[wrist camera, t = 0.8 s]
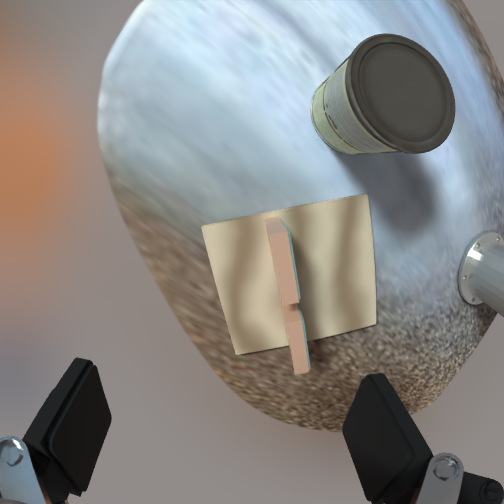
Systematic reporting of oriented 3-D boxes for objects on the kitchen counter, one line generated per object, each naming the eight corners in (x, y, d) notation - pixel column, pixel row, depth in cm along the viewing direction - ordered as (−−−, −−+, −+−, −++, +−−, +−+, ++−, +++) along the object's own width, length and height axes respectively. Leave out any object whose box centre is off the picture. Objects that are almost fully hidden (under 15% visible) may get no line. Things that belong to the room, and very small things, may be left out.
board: (364, 194, 34) (368, 195, 33) (373, 319, 39) (376, 323, 38) (202, 225, 35) (201, 227, 33) (236, 349, 40) (236, 354, 39)
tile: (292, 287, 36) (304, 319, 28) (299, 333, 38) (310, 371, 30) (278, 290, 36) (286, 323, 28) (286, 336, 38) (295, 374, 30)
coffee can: (331, 60, 29) (376, 11, 15) (398, 106, 30) (467, 87, 17) (293, 126, 31) (325, 102, 18) (365, 171, 33) (430, 179, 19)
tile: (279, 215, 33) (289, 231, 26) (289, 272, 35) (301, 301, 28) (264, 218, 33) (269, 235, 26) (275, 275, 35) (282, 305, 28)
